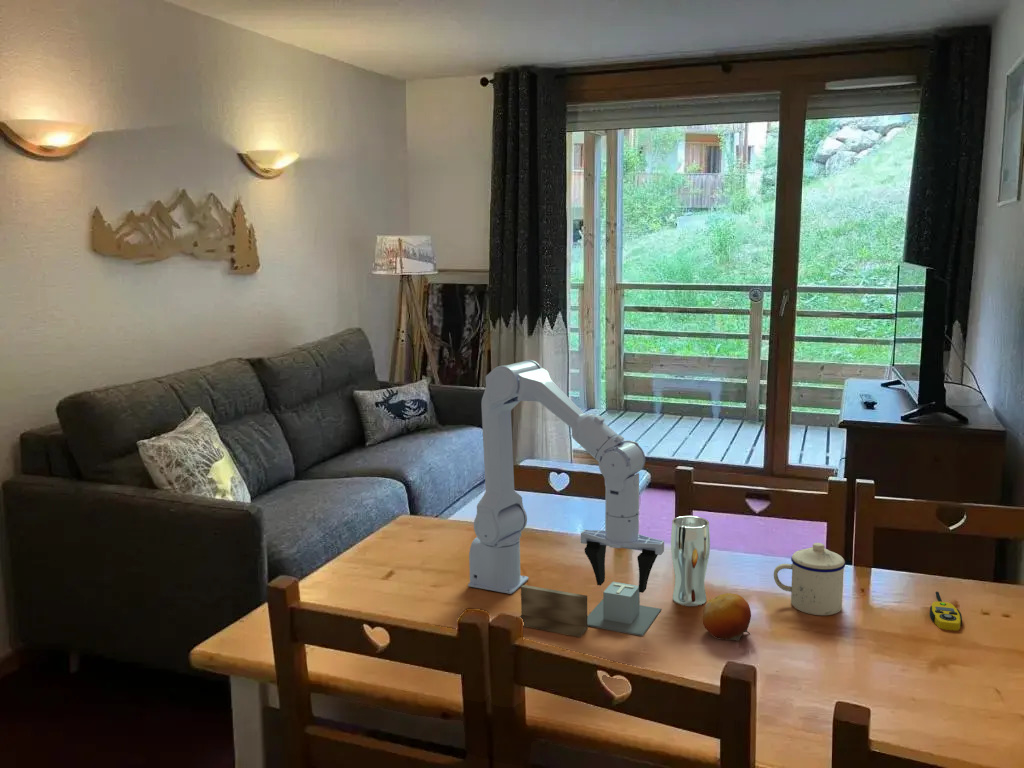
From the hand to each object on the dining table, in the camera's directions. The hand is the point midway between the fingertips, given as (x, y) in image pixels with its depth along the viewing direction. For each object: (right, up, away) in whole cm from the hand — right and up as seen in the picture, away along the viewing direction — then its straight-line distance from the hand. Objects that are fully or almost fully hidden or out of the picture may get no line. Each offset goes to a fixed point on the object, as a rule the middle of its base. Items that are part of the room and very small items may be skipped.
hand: (621, 586), depth 151 cm
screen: (-12, -6, -2) cm, 14 cm away
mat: (0, -6, +1) cm, 6 cm away
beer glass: (+13, -4, +8) cm, 16 cm away
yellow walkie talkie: (+57, -5, +1) cm, 57 cm away
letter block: (0, -5, +1) cm, 5 cm away
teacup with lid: (+34, -5, +5) cm, 35 cm away
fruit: (+17, -7, -6) cm, 19 cm away
